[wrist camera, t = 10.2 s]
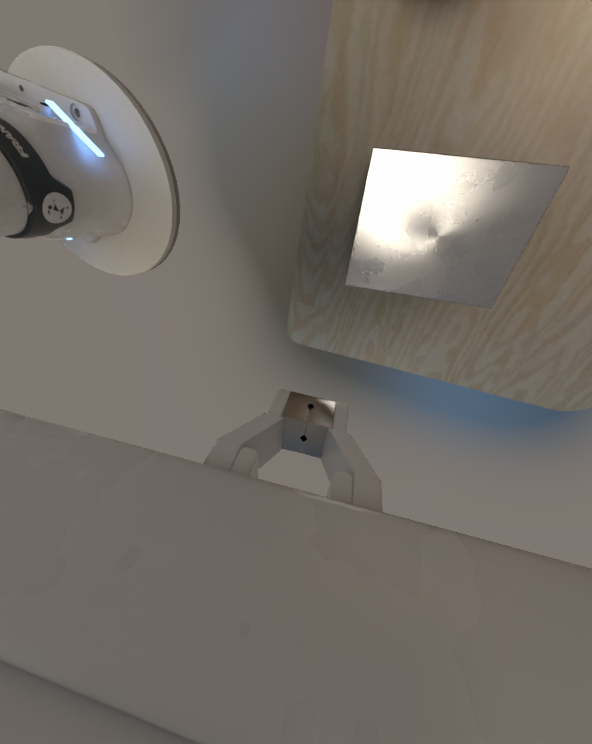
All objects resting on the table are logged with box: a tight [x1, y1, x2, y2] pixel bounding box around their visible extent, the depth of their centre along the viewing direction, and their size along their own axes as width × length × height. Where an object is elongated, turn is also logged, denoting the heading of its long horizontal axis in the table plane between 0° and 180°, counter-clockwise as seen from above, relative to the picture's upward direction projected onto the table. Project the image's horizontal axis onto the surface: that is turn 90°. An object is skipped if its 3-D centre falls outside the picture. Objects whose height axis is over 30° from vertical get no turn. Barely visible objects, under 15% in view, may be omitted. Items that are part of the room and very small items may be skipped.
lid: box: [345, 148, 570, 308], centre depth 27 cm, size 16×13×1 cm
